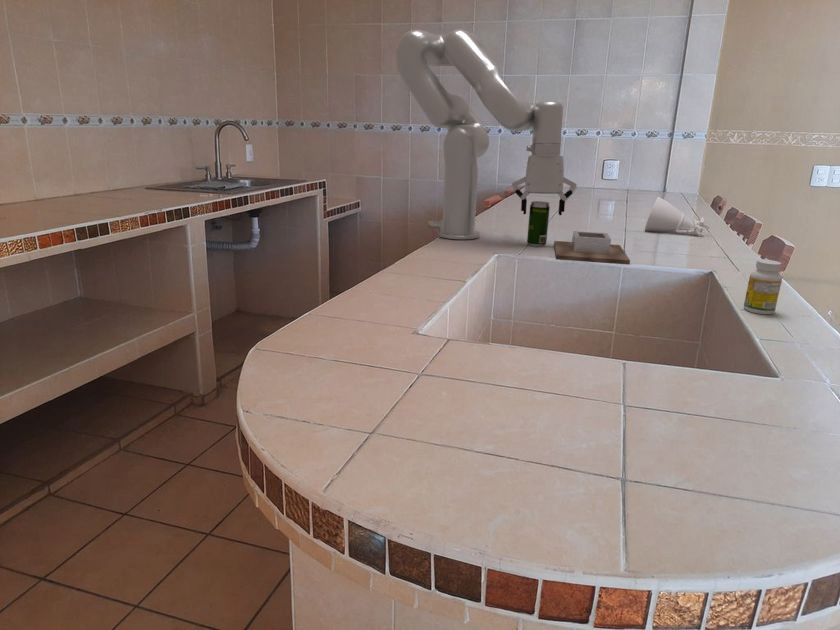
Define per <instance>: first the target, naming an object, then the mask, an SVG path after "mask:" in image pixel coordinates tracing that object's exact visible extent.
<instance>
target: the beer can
mask: <svg viewBox="0 0 840 630" xmlns="http://www.w3.org/2000/svg"><path fill="white" fill-rule="evenodd" d="M530 202H531V203H530V205H529V212H528V213H529V214H528V226H527V238H526V243H527V246H530V247H533V246H535V247H534V248H541V247H542V248H543V246H544V247H545V246H546V245H547V240H548V239H547V238H548V228H549V219H550V218H549V217H550V210H551V207H550V202H548V201H541V200H538V201H537V200H535V201H530Z"/></svg>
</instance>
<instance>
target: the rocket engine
mask: <svg viewBox="0 0 840 630" xmlns="http://www.w3.org/2000/svg"><path fill="white" fill-rule="evenodd" d="M705 219H706V218H705V217H701V218H700V220H697V219H695V218H694V219H693V220H691V219H690V218H689V217H688V216H687V215H686V213H683V212H682V210H679V209H678V208H677V207H676V206H675V205H674V204H671V203H670V202H668V201H667V200H665V199H663V198H661V197H660V196H658V197H657V198H656V200H655V202H654V204H653V206H652V208H651V211H650V214H649V216H648V218H647V221H646V224H645V227H644V231H646V232H654V233H676V234H690V235H692V236H694V235H696V236H698V237H700V236H701V238H704V237H705V234H706V232H703V231H704V229H706V230H708V229H710V227H711V225H710V223H706V222H705ZM703 236H704V237H703Z"/></svg>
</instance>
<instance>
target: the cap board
mask: <svg viewBox="0 0 840 630" xmlns="http://www.w3.org/2000/svg"><path fill="white" fill-rule="evenodd" d="M611 243H612V238H611V237H610V236H609V234H608V233H607V232H594V231H578V230H577V231H575V230H573V231H572V239H571V241H564V240H563V241H562V240H561V241H560V240H554V243H553V247H554V252H555V259H556V260H563V261H579V262H592V263H608V264H622V265H630V264H631V260H630V258H629V257H628V255H627V254H626V252H625V250H624V249H623V248H622V246H621V244H611Z"/></svg>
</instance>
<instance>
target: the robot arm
mask: <svg viewBox="0 0 840 630" xmlns="http://www.w3.org/2000/svg"><path fill="white" fill-rule="evenodd" d="M395 62H396V67H397V71H398V73H399V75H400V78H401V79H402V81H403V82H404V84H405V86H406V87H407V89H408V90H409V92H410V93H411V95H412V96H413V98H414V100H415V101H416V102H417V104H418V106H419V108H421V110H422V112H423V113H424V115H425V116H426V118H427V119H428V121H429V122H430V123H431V125H433V126H434V127H435V128H438V129H446V130H447V132H446V134H445V137H444V140H443V146H442V147H443V157H444V158H443V159H444V182H443V183H444V189H443V209H442V210H443V211H442V212H443V213H442V219H441V220H438V221H435V220H428V222H427V223H428V225H427V226H428V228H431V229H438V230H437V232H436V234H437V237H440V238H445V239H450V240H460V241H461V240H476V239H478V238H480V232H479V231H477V230H475V229H476V228H475V226H476V209H477V192H478V173H479V172H478V160H477V158H480V157H482V156H484V154H485V155H486V153H487V151H488V149H489V146H490V137H489V134H488V131H487V130H486V128H485V127H484V125H483V123H482V122H481V121H480V119H479V117H478V116H477V115H476V113H475V112H474V111H473V108H472V107H471V106H470V105H469V104H468V102H467V101H466V100H465V99H464V98H463V97H461V96H459V95H456V94H452V93H449V92H448V91H447V89H446V87H445V86H444V85H443V84H442V82H441V81H440V78H438V76H437V74H436V73H435V72H434V71H433V70H432V69H431V68H430V66H432V67H433V66H434V67H455V69H456V70H457V71H458V73H460V74H461V76H462V77H463V78H464V79H465V80H466V81H467V82H468V84H469V85H470V86H471V87H472V88H473V89H474V91H475V93H476V95H477V96H478V98H479V99H480V101H481V103H482V104H483V106H484V107H485V108H486V109H487V111H488V112H489V113H490V114H491V115H492V116H493V117H494V119H495V120H496V121H497V122H498V123H499V124H500V125H501V126H502V127H503V128H504V129H506V130H508V131H513V132H514V131H518V132H522V131H523V132H524V131H530V130H532V144H531V145H526V152H530V153H531V155H528V158H527V162H526V169H525V176H524V177H521V178H520V179H518V180H516V181H513V182H512V184H511V186H512V188H513V191H514V192H515V194H516V195H517V197H519V198H520V200H521V203H520V204H521V208H520V211H521V212H523V215H527V205H528V199H527V197H528V196H529V195H530V194H542V195H544V194H546V195H547V194H549V195H551V194H553V195H555V194H556V195H558V197H560V198H559V201H558V215H559V216H562V215H563V214H562V213H564V212H565V209H566V208H565V207H566V205H565V204H566V200H567V199H569V197H570V196H572V195H573V193H574V191H575V189H576V188H577V183H575V182H573V180H572V181H571V180H570V179H568V178H566V177H564V175H565V174H564V173H565V171H564V170H565V169H564V167H565V164H564V156H563V155H561V146H562V145H561V142H562V131H563V118H564V117H563V115H564V105H563V104H562V103H561V102H558V101H538V102H537V103H535V102H534V103H533V102H529V101H528V102H527V101H523V100H522V101H521V100H519V99H518V98H517V97H516V96H515V94H514V93H513V92H512V91H511V90H510V89H509V88H508V87H507V85H506V84H505V83H504V81H503V79H502V77H501V73H500V68H499V65H498V64H497V63H496V62H495V61H494V59H493V58H492V57H491V56H490V55H489V54H488V53H487V52H486V51H485V50H484V46H483V43H482V41H481V39H480V38H479V37H478V35H476V34H475V33H472V32H470V31H467V30H465V29H460V28H457V29H453V30H451V31H450V32H448V33H447V34H435V33H431V32H429V31H425V30H423V29H411V30H408V31H406V32H405V33H404V34H403V35H402V36H401V37H400V39H399V41H398V43H397V47H396V52H395ZM523 183H524V192H522V191H521V189H520V187H519V186H520V185H522V184H523ZM564 184H566V185H567V186H569V188H568V190H567V191H566V192H565V193H564V192H563V190H564Z"/></svg>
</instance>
